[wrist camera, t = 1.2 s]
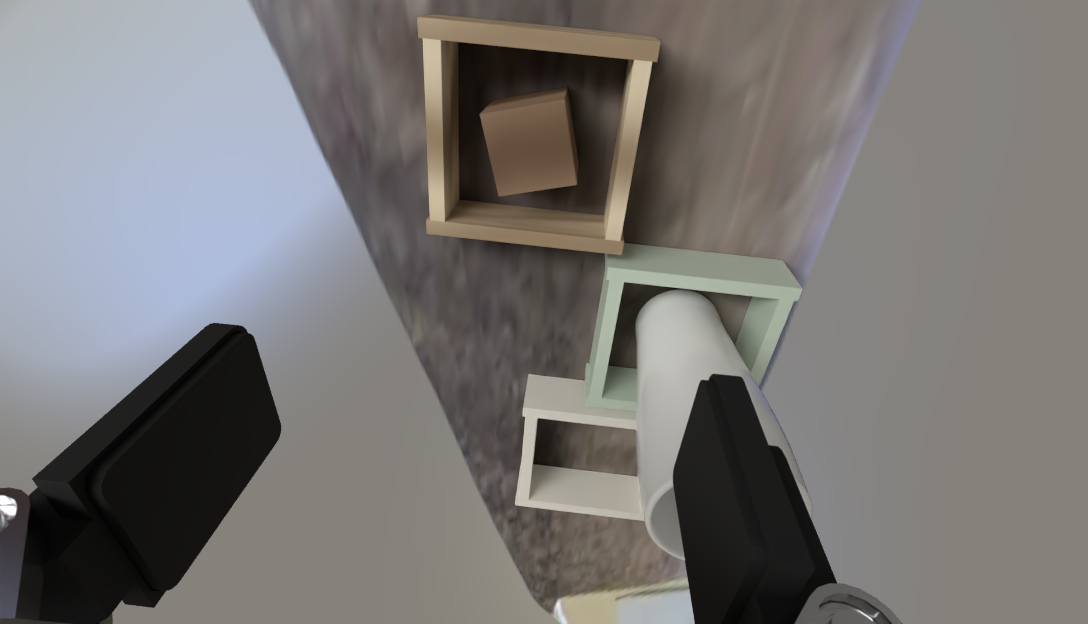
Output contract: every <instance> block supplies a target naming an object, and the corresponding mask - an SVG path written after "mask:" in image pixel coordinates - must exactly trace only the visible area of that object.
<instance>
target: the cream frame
mask: <svg viewBox="0 0 1088 624" xmlns="http://www.w3.org/2000/svg"><path fill="white" fill-rule="evenodd" d="M523 416H524V417H525V427H524V439H523V450H522V462H521V466H520V473H519V479H518V486H517V493H516V500H515V505H518V506H526V507H534V508H543V509H551V510H559V511H567V512H575V513H584V514H592V515H600V516H608V517H617V518H625V519H633V520H641V521H645V520H644V513H643V507H642V501H641V494H640V487H639V479H638V476H637V477H636V476H628V475H619V474H611V473H603V472H594V471H586V470H578V469H569V468H561V467H553V466H544V465H536V464H533V460H534V451H535V441H536V432H537V422H538V418H541V419H550V420H558V421H567V422H575V423H584V424H592V425H601V426H609V427H618V428H626V429H635V430H636V412H635V411H627V410H618V409H610V408H601V407H593V406H585V381H583V380H575V379H566V378H558V377H549V376H540V375H532V374H529V375H528V381H527V388H526V394H525V400H524V406H523Z"/></svg>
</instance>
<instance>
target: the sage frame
mask: <svg viewBox="0 0 1088 624" xmlns="http://www.w3.org/2000/svg"><path fill="white" fill-rule="evenodd" d="M624 282H629V283H638V284H647V285H656V286H664V287H673V288H682V289H691V290H700V291H709V292H718V293H727V294H736V295H745V296H752V298H751V301H750V304H749V307H748V310H747V312H746V315H745V318H744V321H743V324H742V327H741V329H740V332H739V335H738V338H737V341H736V343H735V347H736V349H737V350H738V352H739V354H740V356H741V357H742V359H743V361H744V363H745V364H746V366H747V368H748V369H749V371H750V373H751V374H752V376H753V378H754V380H755V381H756V383H757V385H758V386H760V383H761V381H762V378H763V376H764V374H765V371H766V369H767V366H768V364H769V361H770V359H771V356H772V354H773V351H774V349H775V347H776V344H777V342H778V339H779V337H780V334H781V332H782V329H783V327H784V325H785V322H786V320H787V317H788V315H789V312H790V310H791V307H792V305H793V303H794V301H798V300H799V297H800V295H801V292H802V290H803V288H802V287H801V285H800V284H799V283H798V281H797V280H796V278H795V277H794V276H793V274H792V273H791V272H790V270H789V269H788V267H787V266H786V265H785V263H784V262H783V260H776V259H767V258H758V257H749V256H739V255H730V254H721V253H712V252H703V251H694V250H685V249H676V248H667V247H658V246H648V245H639V244H630V243H624V245H623V250H622V255H615V254H606V253H605V273H604V279H603V285H602V291H601V297H600V303H599V309H598V315H597V321H596V327H595V333H594V339H593V345H592V351H591V357H590V363H587V364H586V370H585V406H593V407H601V408H610V409H618V410H627V411H635V412H636V382H637V369H634V368H625V367H616V366H608V362H609V357H610V352H611V347H612V342H613V336H614V331H615V326H616V321H617V316H618V311H619V305H620V300H621V295H622V290H623V285H624Z"/></svg>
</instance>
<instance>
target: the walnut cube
mask: <svg viewBox="0 0 1088 624" xmlns="http://www.w3.org/2000/svg"><path fill="white" fill-rule="evenodd" d="M480 118H481V123H482V127H483V131H484V135H485V140H486V144H487V148H488V153H489V157H490V161H491V166H492V170H493V174H494V179H495V183H496V187H497V192H498V196H506V195H513V194H519V193H526V192H533V191H539V190H546V189H553V188H559V187H566V186H573V185H577V177H578V156H577V149H576V142H575V135H574V128H573V121H572V114H571V107H570V100H569V93H568V86H566V87H561V88H555V89H550V90H544V91H539V92H533V93H528V94H522V95H517V96H511V97H506V98H500V99H495V100H493V101H492V102H491V103H490V104H489V105H488V106H487V107H486V108H485V109H484V110H483V111H482V112H481V113H480Z"/></svg>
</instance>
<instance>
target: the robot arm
mask: <svg viewBox="0 0 1088 624" xmlns="http://www.w3.org/2000/svg"><path fill="white" fill-rule="evenodd" d="M280 433H281V423H280V420H279V416H278V413H277V410H276V407H275V403H274V400H273V397H272V394H271V391H270V387H269V384H268V381H267V378H266V374H265V371H264V368H263V365H262V361H261V358H260V355H259V352H258V349H257V345H256V342H255V339H254V337H253V336H252V335H251V334H249V333H248V332H247V330H246V329H245V328H244V327H243V326H239V325H228V324H219V323H212V324H209V325H208V326H206V327H205V328H204V329H203V330H201V331H200V332H199V333H198V334H197V335H196V336H195V337H194V338H192V339H191V340H190V341H189V342H188V343H187V344H185V345H184V346H183V347H182V348H181V349H180V350H179V351H177V352H176V353H175V354H174V355H173V356H172V357H171V358H169V359H168V360H167V361H166V362H165V363H164V364H163V365H161V366H160V367H159V368H158V369H157V370H156V371H155V372H153V373H152V374H151V375H150V376H149V377H148V378H147V379H145V380H144V381H143V382H142V383H141V384H140V385H139V386H137V387H136V388H135V389H134V390H133V391H132V392H131V393H130V394H128V395H127V396H126V397H125V398H124V399H123V400H121V401H120V402H119V403H118V404H117V405H116V406H115V407H113V408H112V409H111V410H110V411H109V412H108V413H107V414H105V415H104V416H103V417H102V418H101V419H100V420H99V421H97V423H95V424H94V425H93V426H92V427H91V428H89V429H88V430H87V431H86V432H85V433H84V434H83V435H81V436H80V437H79V438H78V439H77V440H76V441H75V442H73V443H72V444H71V445H70V446H69V447H68V448H67V449H65V450H64V451H63V452H62V453H61V454H60V455H59V456H57V457H56V458H55V459H54V460H53V461H52V462H51V463H49V464H48V465H47V466H46V467H45V468H44V469H43V470H41V472H39V473H38V474H37V475H36V476H35V477H33V479H32V480H33V481H34V482H35V484H36V485H37V486H38V488H37V489H36V490H34V491H33V492H32V493H31V494H30V495H29V496H28V495H27V494H26V493H25V492H23V491H22V490H19V489H15V488H0V624H113V618H112V617H113V616H112V612H113V611H114V610H115V608H116V607H117V606H118V604H119V603H120V602H121V600H123V602H124V603H125V604H128V605H136V606H145V607H153V608H154V607H155V606H156V604H157V603H158V601H159V600H160V599H161V597H162V596H163V594H164V593H165V592H166V590H170V589H172V588H173V587H175V586H176V585H177V584H178V583H179V581H180V580H181V579H182V577H183V576H184V574H185V573H186V572H187V570H188V569H189V567H190V566H191V564H192V563H193V561H194V560H195V559H196V557H197V556H198V554H199V553H200V551H201V550H202V549H203V547H204V546H205V544H206V543H207V542H208V540H209V539H210V537H211V536H212V534H213V533H214V531H215V530H216V529H217V527H218V526H219V524H220V523H221V521H222V520H223V518H224V517H225V516H226V514H227V513H228V511H229V510H230V508H231V507H232V506H233V504H234V503H235V501H236V500H237V498H238V497H239V495H240V494H241V493H242V491H243V490H244V488H245V487H246V486H247V484H248V483H249V481H250V480H251V478H252V477H253V476H254V474H255V473H256V471H257V470H258V468H259V467H260V466H261V464H262V462H263V461H264V460H265V458H266V457H267V456H268V454H269V453H270V451H271V450H272V448H273V447H274V445H275V444H276V443H277V441H278V439H279V437H280ZM673 487H674V494H675V500H676V506H677V513H678V519H679V525H680V532H681V538H682V544H683V551H684V557H685V563H686V570H687V576H688V583H689V589H690V595H691V602H692V608H693V614H694V621H695V624H902V622H901V621H900V620H899V619H898V618H897V617H896V615H895V614H894V613H893V612H892V611H891V610H890V609H889V608H887V607H886V606H885V605H884V604H883V603H882V602H880V601H879V600H878V599H877V598H875V597H873V596H872V595H869V594H868V593H866V592H864V591H863V590H861V589H859V588H855V587H852V586H849V585H846V584H837V582H836V579H835V577H834V574H833V572H832V570H831V567H830V564H829V562H828V560H827V557H826V555H825V553H824V550H823V547H822V545H821V542H820V540H819V538H818V535H817V532H816V530H815V527H814V525H813V523H812V520H811V518H810V515H809V513H808V510H807V508H806V505H805V503H804V500H803V498H802V495H801V493H800V491H799V488H798V486H797V483H796V481H795V478H794V476H793V473H792V471H791V468H790V466H789V464H788V461H787V459H786V456H785V454H784V453H783V451H782V450H781V449H780V448H779V447H778V446H772V445H768V442H767V440H766V437H765V434H764V432H763V429H762V426H761V424H760V421H759V419H758V416H757V413H756V411H755V408H754V405H753V403H752V400H751V397H750V395H749V392H748V390H747V387H746V384H745V382H744V380H743V378H742V377H740V376H732V375H722V374H712V375H711V376H710V377H709V380H701V381H700V383H699V386H698V389H697V392H696V395H695V399H694V402H693V405H692V409H691V412H690V415H689V419H688V422H687V425H686V429H685V432H684V435H683V439H682V442H681V445H680V449H679V452H678V455H677V459H676V462H675V465H674V469H673Z"/></svg>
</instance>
